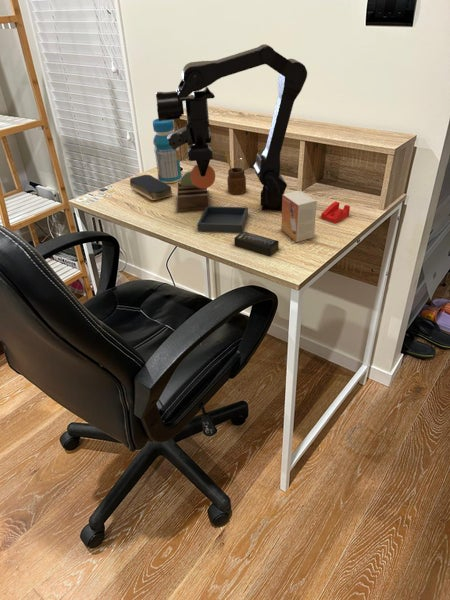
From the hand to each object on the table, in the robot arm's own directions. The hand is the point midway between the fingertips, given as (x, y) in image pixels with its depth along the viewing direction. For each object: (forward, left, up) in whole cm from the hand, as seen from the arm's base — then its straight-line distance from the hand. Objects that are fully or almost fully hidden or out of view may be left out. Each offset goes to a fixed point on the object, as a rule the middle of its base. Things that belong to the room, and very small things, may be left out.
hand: (203, 175), depth 127 cm
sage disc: (+7, -11, -7) cm, 14 cm away
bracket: (-37, 0, -12) cm, 39 cm away
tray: (-6, +6, -12) cm, 15 cm away
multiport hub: (-17, +19, -12) cm, 28 cm away
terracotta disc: (0, 0, 0) cm, 0 cm away
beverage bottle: (+19, -26, -12) cm, 34 cm away
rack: (+6, -7, -12) cm, 15 cm away
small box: (-27, +11, -12) cm, 32 cm away
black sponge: (+22, -14, -12) cm, 29 cm away
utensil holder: (-6, -17, -12) cm, 22 cm away
